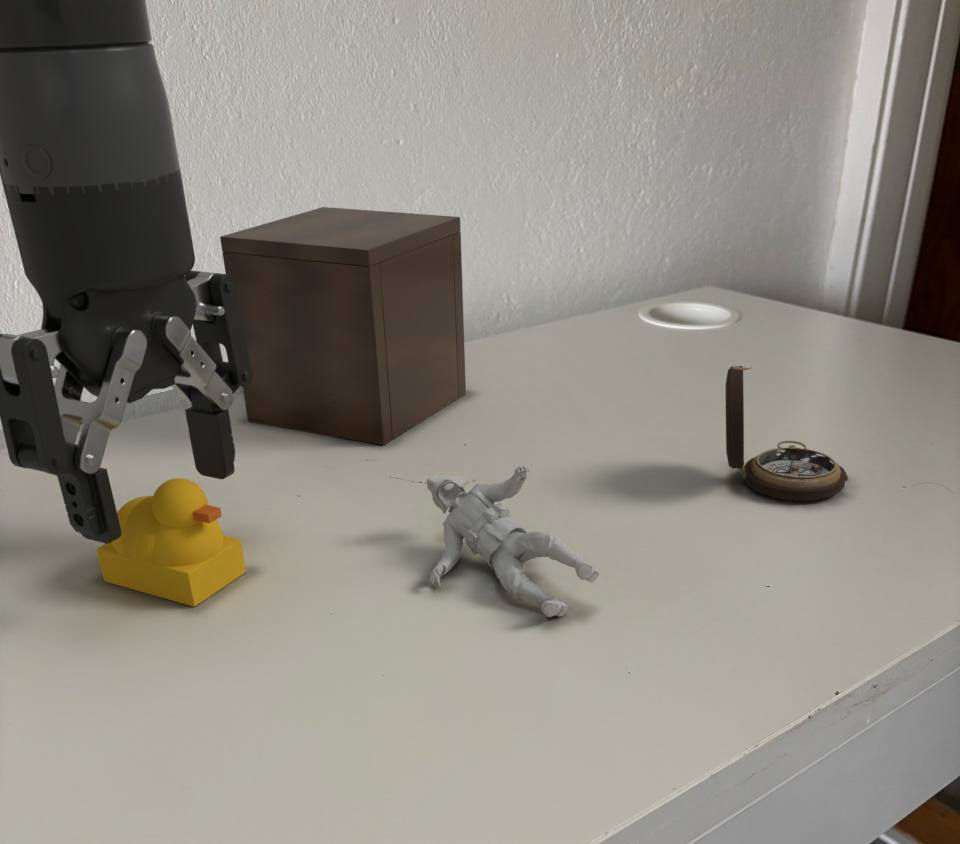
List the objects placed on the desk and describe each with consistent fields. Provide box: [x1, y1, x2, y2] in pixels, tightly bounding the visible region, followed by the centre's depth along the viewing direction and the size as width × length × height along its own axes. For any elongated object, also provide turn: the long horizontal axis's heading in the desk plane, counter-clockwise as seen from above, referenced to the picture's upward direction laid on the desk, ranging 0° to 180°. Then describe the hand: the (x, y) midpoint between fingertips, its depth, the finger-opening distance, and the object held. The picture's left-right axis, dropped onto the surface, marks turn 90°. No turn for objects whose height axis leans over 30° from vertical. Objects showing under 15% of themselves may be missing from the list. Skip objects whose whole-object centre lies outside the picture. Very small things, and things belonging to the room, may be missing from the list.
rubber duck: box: [95, 477, 247, 607], centre depth 54 cm, size 7×4×6 cm, turn 62°
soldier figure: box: [426, 465, 600, 618], centre depth 54 cm, size 8×5×12 cm
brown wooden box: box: [219, 206, 467, 446], centre depth 75 cm, size 12×12×13 cm
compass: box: [725, 365, 849, 502], centre depth 63 cm, size 8×8×7 cm
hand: (162, 505), depth 54 cm, fingers open, 8 cm apart
